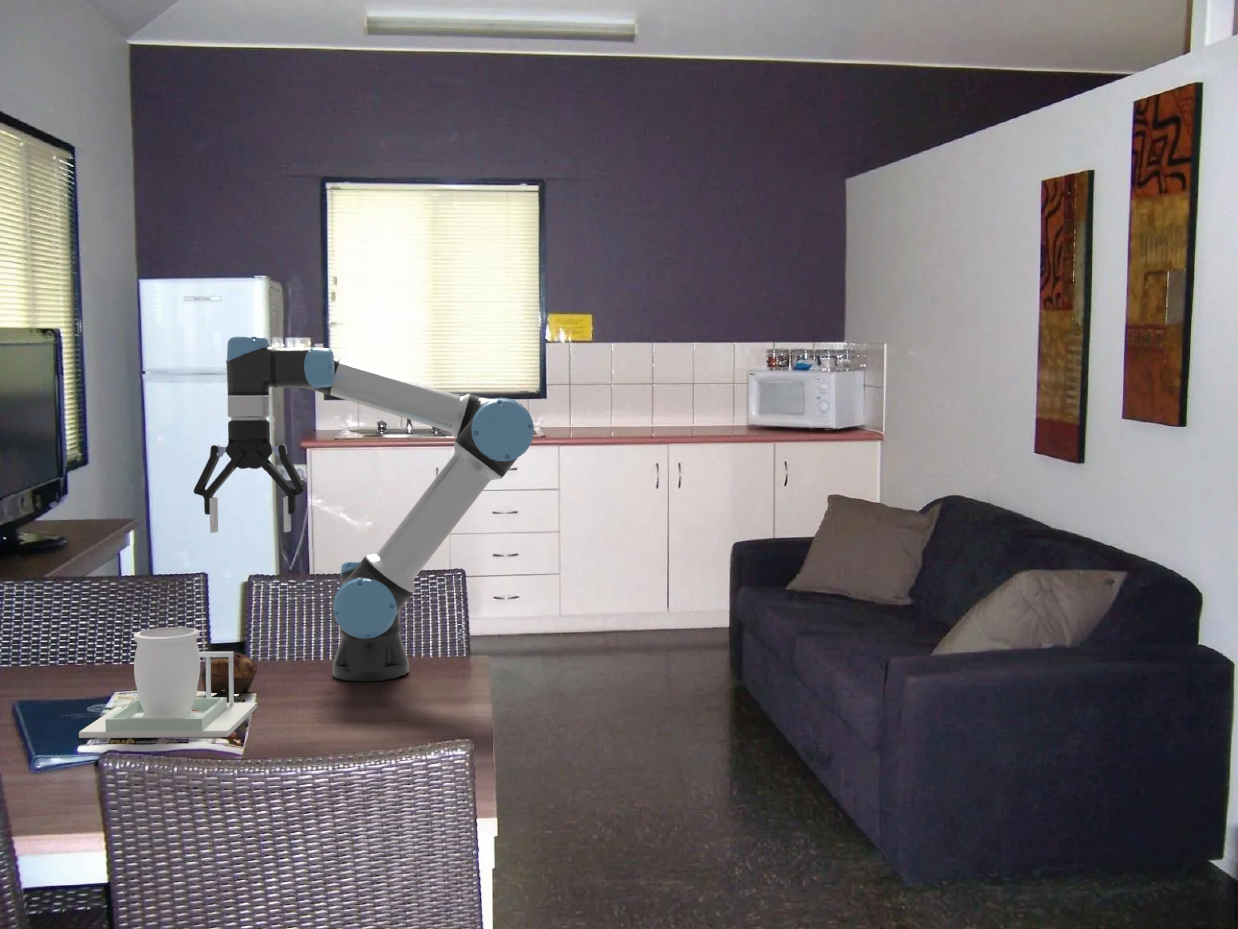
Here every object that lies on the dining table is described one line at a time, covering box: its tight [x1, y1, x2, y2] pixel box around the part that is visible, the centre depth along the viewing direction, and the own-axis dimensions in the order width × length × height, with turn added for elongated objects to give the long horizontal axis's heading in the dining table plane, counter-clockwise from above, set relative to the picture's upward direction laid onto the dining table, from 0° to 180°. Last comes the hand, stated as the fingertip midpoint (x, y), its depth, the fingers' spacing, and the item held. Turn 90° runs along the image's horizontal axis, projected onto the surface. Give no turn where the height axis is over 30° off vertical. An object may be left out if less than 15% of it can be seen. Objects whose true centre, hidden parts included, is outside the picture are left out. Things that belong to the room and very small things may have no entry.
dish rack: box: [78, 651, 258, 739], centre depth 208 cm, size 24×19×11 cm
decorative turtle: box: [200, 652, 258, 695], centre depth 229 cm, size 10×15×8 cm, turn 4°
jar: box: [133, 626, 201, 718], centre depth 206 cm, size 11×10×15 cm
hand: (250, 532), depth 229 cm, fingers open, 13 cm apart
